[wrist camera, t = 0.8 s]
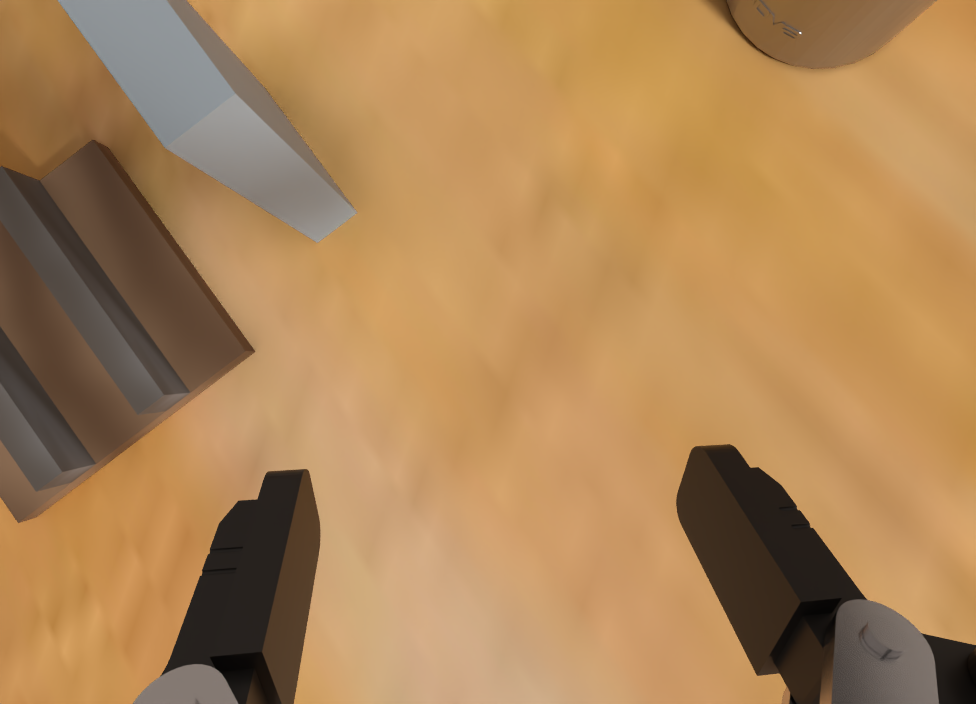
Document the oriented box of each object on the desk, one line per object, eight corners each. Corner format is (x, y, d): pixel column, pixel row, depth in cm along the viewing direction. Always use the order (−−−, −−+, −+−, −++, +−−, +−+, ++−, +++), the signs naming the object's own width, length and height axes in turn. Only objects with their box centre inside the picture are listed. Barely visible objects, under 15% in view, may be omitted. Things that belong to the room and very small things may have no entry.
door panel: (264, 87, 28) (74, -126, 16) (357, 212, 27) (235, 93, 15) (225, 117, 28) (5, -72, 16) (317, 242, 27) (164, 147, 15)
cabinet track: (108, 147, 28) (59, 121, 25) (255, 351, 27) (223, 350, 24) (-105, 312, 28) (-179, 306, 25) (36, 517, 28) (-22, 536, 25)
